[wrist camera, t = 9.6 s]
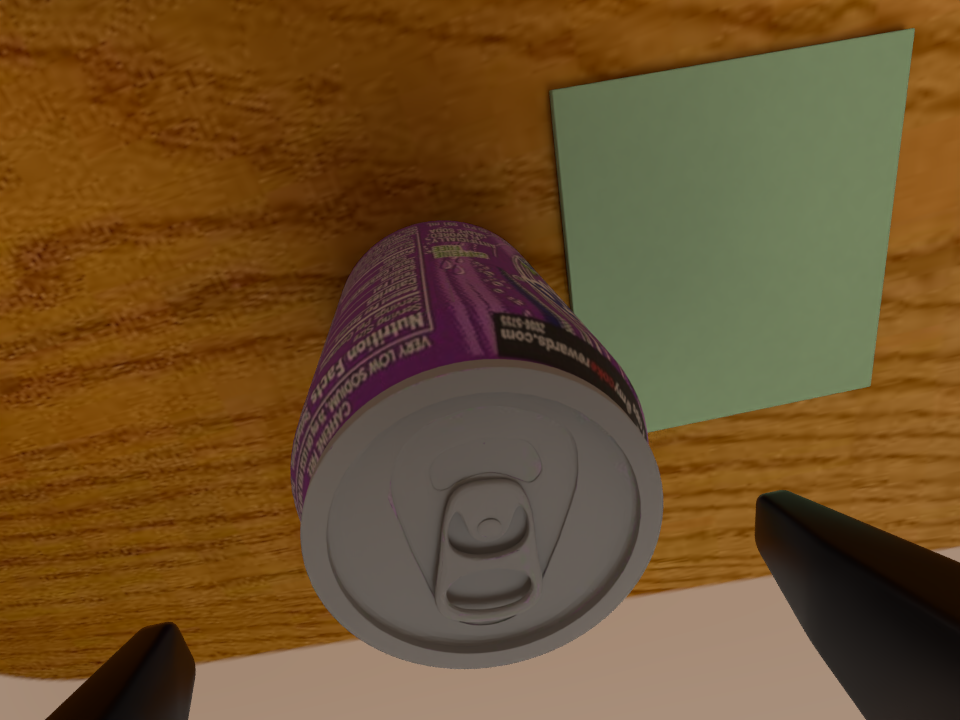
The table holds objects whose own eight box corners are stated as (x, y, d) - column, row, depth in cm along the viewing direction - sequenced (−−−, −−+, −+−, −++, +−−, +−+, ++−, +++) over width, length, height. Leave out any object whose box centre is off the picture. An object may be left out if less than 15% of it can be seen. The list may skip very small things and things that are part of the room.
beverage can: (537, 400, 23) (668, 665, 12) (350, 413, 22) (300, 710, 11) (541, 213, 20) (716, 324, 9) (329, 220, 19) (233, 352, 8)
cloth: (863, 382, 24) (870, 386, 24) (583, 440, 24) (586, 445, 23) (905, 29, 19) (915, 27, 19) (548, 90, 19) (551, 89, 18)
